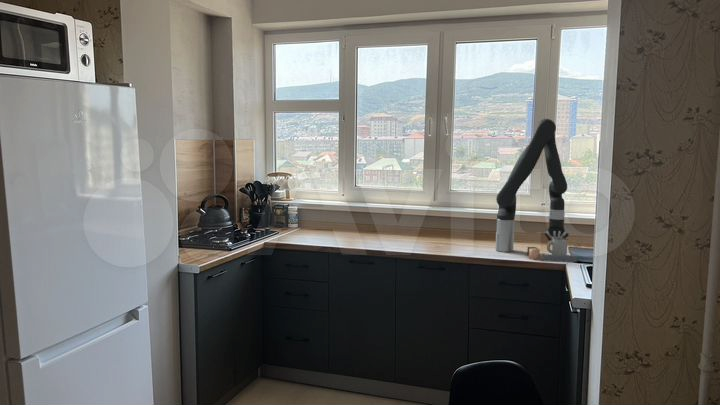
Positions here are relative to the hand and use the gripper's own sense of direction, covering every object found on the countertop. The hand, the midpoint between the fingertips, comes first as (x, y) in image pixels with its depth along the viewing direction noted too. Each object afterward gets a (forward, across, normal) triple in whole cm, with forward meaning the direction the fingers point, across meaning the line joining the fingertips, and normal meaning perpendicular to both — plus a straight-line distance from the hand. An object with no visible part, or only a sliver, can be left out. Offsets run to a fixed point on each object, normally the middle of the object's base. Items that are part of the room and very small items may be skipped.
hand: (555, 250), depth 280 cm
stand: (+2, -1, -16) cm, 16 cm away
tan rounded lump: (+2, -13, -14) cm, 19 cm away
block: (+2, -12, -5) cm, 13 cm away
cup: (+2, 0, -4) cm, 5 cm away
